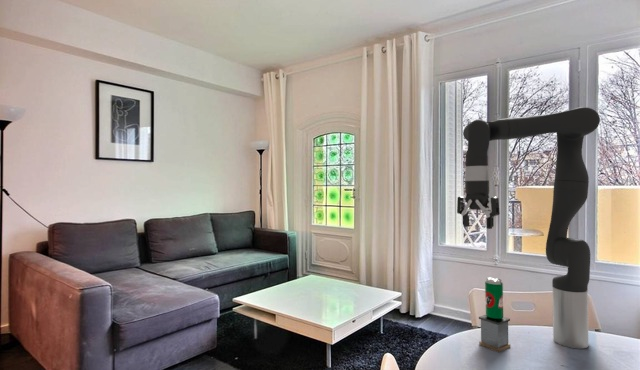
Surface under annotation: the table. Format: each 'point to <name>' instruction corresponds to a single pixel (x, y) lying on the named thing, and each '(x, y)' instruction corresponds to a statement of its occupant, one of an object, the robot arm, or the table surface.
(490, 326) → the service unit
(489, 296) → the soda can
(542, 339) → the table surface
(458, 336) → the table surface
